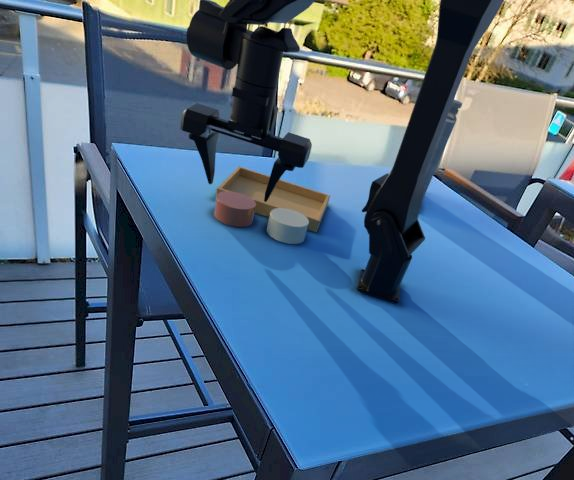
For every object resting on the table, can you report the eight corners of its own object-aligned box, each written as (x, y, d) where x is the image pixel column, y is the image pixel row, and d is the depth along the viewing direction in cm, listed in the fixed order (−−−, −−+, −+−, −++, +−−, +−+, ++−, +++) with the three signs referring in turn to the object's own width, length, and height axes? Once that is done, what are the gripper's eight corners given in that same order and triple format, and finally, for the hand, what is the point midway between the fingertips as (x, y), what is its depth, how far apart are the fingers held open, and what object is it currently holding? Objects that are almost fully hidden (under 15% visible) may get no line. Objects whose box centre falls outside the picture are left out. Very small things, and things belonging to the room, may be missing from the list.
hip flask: (403, 184, 114) (440, 89, 101) (419, 189, 114) (459, 95, 101) (403, 208, 102) (445, 104, 89) (421, 214, 102) (466, 111, 89)
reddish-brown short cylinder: (246, 231, 78) (250, 213, 76) (208, 218, 78) (211, 200, 76) (256, 216, 83) (260, 199, 81) (221, 205, 83) (223, 187, 81)
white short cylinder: (300, 248, 78) (305, 230, 76) (262, 236, 78) (266, 218, 76) (307, 232, 83) (312, 216, 81) (271, 221, 83) (275, 204, 81)
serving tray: (316, 232, 83) (319, 221, 82) (215, 200, 84) (217, 188, 82) (327, 205, 93) (330, 195, 92) (236, 177, 93) (238, 166, 92)
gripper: (329, 92, 73) (303, 193, 83) (210, 54, 73) (199, 160, 83) (317, 106, 65) (290, 217, 75) (184, 63, 65) (175, 180, 75)
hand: (238, 192), depth 77 cm, fingers open, 9 cm apart
